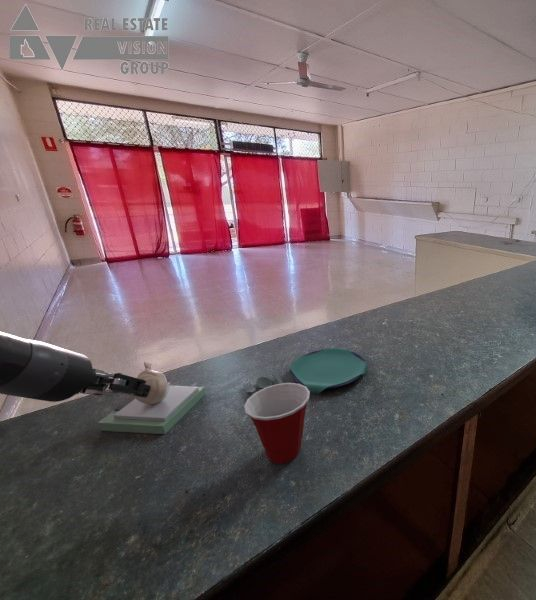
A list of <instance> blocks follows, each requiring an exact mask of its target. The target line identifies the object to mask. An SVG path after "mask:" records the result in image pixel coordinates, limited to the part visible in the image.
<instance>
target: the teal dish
mask: <svg viewBox="0 0 536 600" xmlns="http://www.w3.org/2000/svg"><path fill="white" fill-rule="evenodd" d="M288 369H289V375H290V378H291V379H292V380H293V381H294V382H295V383H296V384H301V385H303V386H305V387H307V389H308V390H309V391H310V394H311V393H312V394H315V395H319V394H321V393H322V392H323V391H324V390H330V389H338V388H341V387H344V386H347V385H350V384H352V383H353V382H355V381H358V380H359V379H360V378H361V377H362V376H363V375H366V373H367V371H368V369H369V365H368V363H367V362H366V360H365V358H363V357H362V356H361V354H358V353H356V352H354V351H352V350H349V348H345V347H344V348H343V347H327V348H323V349H319V350H315V351H311V352H309V353H306V354H303V355H301V356H298V357H297V358H296V359H294V361H293V362H292V363H291V364H290V366H289V367H288ZM271 375H272V377H273V378H274V379H275V381H276V382H277V384H282V383H284V382H283V380H282V379H281V378H280V376H279V375H278V374H276V373H271ZM255 382H256V387H258V388H260V390H262V389H264V388H266V387H269V386H272V385H273V383H272V379H270V378H269V377H268V376H267V377H266V376H260V377H258V378H257V379H256V381H255ZM242 385H243V387H244V389H245V392H246V395H248V396H250V397H251V396H252V395H253V394H254V393H256V392H258V391H257V388H256V387H254V385H253V384H252V383H251V382H250V381H248V382H245V383H243V384H242Z"/></svg>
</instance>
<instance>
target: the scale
mask: <svg viewBox="0 0 536 600" xmlns="http://www.w3.org/2000/svg"><path fill="white" fill-rule="evenodd" d="M206 394H207V393H206V389H205V386H190V385H171V384H170V390H169V393H168V395H167V396H166V397H165V398H164V399H163V400H161V401H160V402H158V403H156V404H144V403H141V402H139V401H138V400H136V399H135V397H134V396H133V395H131V396H130V397H129V398H128V399H127V400H125V401H124V402H123V403H121V404H120V405H118V406H117V407H116V408H114V410H112V412H110V413H109V414H107V415H106V416H105V417H103V418H102V419H100V420H99V421H98V422H97V425H98V427H99V430H100V432H116V433H118V432H119V433H135V434H151V435H152V434H153V435H166V434H167V433H168V432H169V431H170V430H171V429H172V428H173V427H174V426H175V425H176V424H178V422H179V421H180V420H181V419H182V418H183V417H185V415H186V414H187V413H188V412H189V411H190V410H191V409H193V407H194V406H196V405H197V403H198V402H199V401H201V400H202V399H203V398H204V397H205V396H206Z"/></svg>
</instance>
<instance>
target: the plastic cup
mask: <svg viewBox="0 0 536 600" xmlns="http://www.w3.org/2000/svg"><path fill="white" fill-rule="evenodd" d="M310 395H311V392H310V391H309V390H308V389H307V387H305V386H303V385H301V384H298V383H297V382H295V383H294V382H283V383H282V384H279V383H276V384H272V385H271V386H269V387H266V388H264V389H260V390H258V391H257V392H256V393H254V394H253V395H252V396H251V395H250V397H248V398H247V400H246V401H245V404H244V406H243V408H244V411H245V413H246V416H248V417H249V418H250V419H251V421H252V422H253V425H254V426H255V430H256V431H257V435H258V437H259V439H260V442H261V444H262V447H263V448H264V451H265V454H266V457H267V459H268V460H269V461H270V462H271V463H272V464H276V465H277V464H278V465H281V464H286V463H289V462H292V461H293V460H294V459H295V458H297V457H298V455H299V454H300V452H301V448H302V441H303V440H302V439H303V435H304V434H303V432H304V425H305V416H306V411H307V405H308V402H309V400H310Z"/></svg>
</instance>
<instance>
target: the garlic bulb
mask: <svg viewBox="0 0 536 600" xmlns="http://www.w3.org/2000/svg"><path fill="white" fill-rule="evenodd" d="M152 365H153V364H152V363H149V362H145V361H144V362H143V366H144V370H142V371H141V372H140V373H138V375H137V377H136V378H138V379H144V380H145V381H146V383H145V384H146V385H150V386H151V390H150V392H149V395H148V396H147V397H146V398H145V397H138V396H134V397H135V399H136V400H138V401H139V402H141V403H144V404H156V403H158V402H160V401H161V400H163V399H164V398H165V397H166V396H167V395H168V393H169V390H170V385H171V382H170V379H169V378H167V377H166V376H165V374H164V373H162V372H160V371H156V370H154V369H153V368H152Z"/></svg>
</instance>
